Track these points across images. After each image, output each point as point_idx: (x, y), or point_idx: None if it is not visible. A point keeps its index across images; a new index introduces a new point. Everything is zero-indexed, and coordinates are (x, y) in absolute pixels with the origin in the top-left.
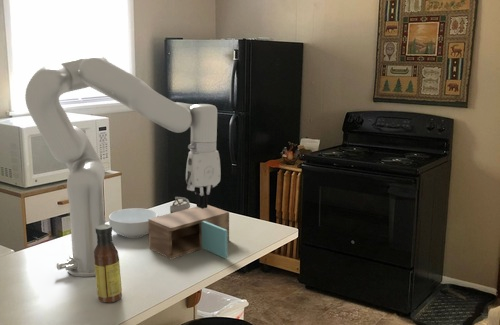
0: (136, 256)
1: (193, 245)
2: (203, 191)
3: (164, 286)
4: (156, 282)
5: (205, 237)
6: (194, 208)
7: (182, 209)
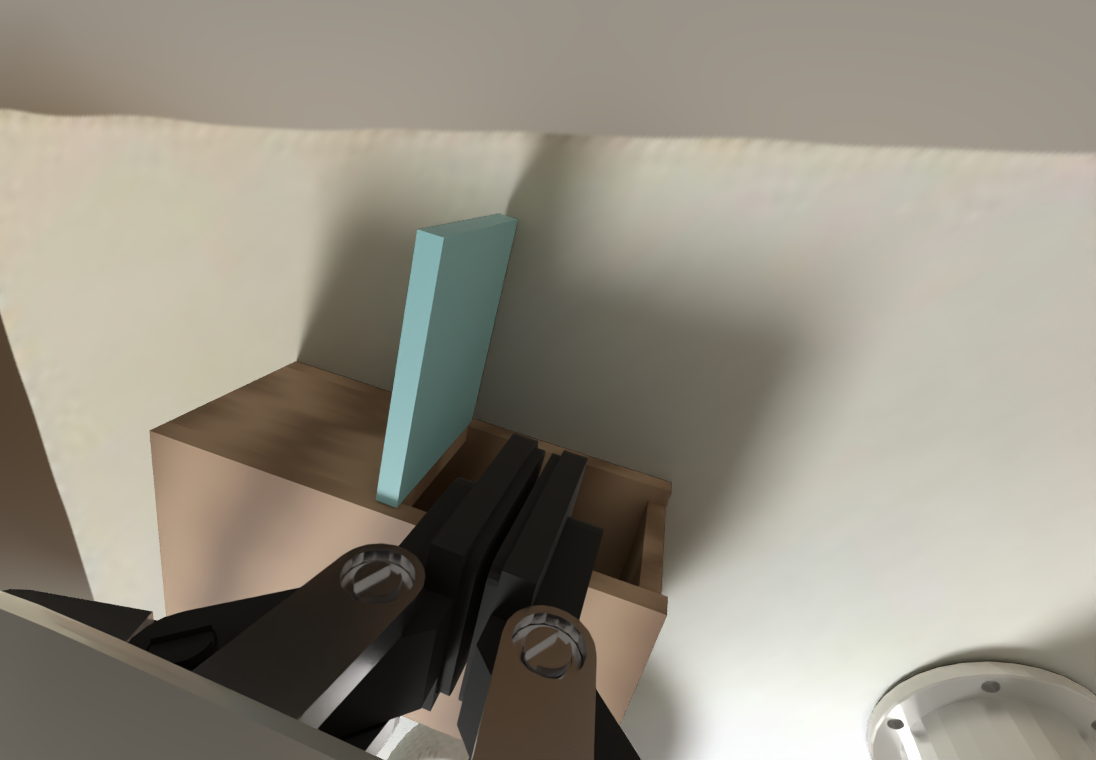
0: (733, 636)
1: (485, 467)
2: (404, 681)
3: (1081, 296)
4: (1034, 374)
5: (449, 420)
6: None
7: None
